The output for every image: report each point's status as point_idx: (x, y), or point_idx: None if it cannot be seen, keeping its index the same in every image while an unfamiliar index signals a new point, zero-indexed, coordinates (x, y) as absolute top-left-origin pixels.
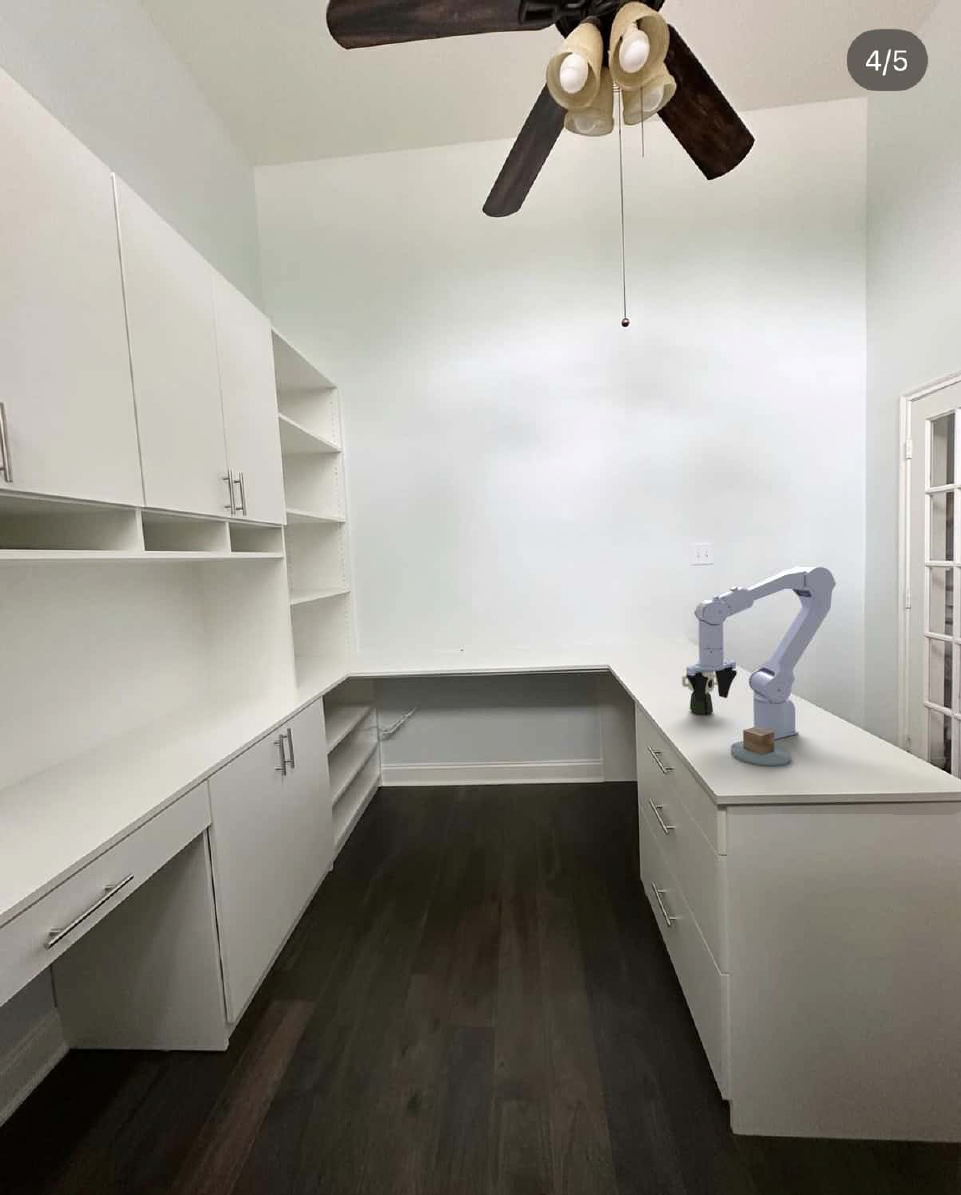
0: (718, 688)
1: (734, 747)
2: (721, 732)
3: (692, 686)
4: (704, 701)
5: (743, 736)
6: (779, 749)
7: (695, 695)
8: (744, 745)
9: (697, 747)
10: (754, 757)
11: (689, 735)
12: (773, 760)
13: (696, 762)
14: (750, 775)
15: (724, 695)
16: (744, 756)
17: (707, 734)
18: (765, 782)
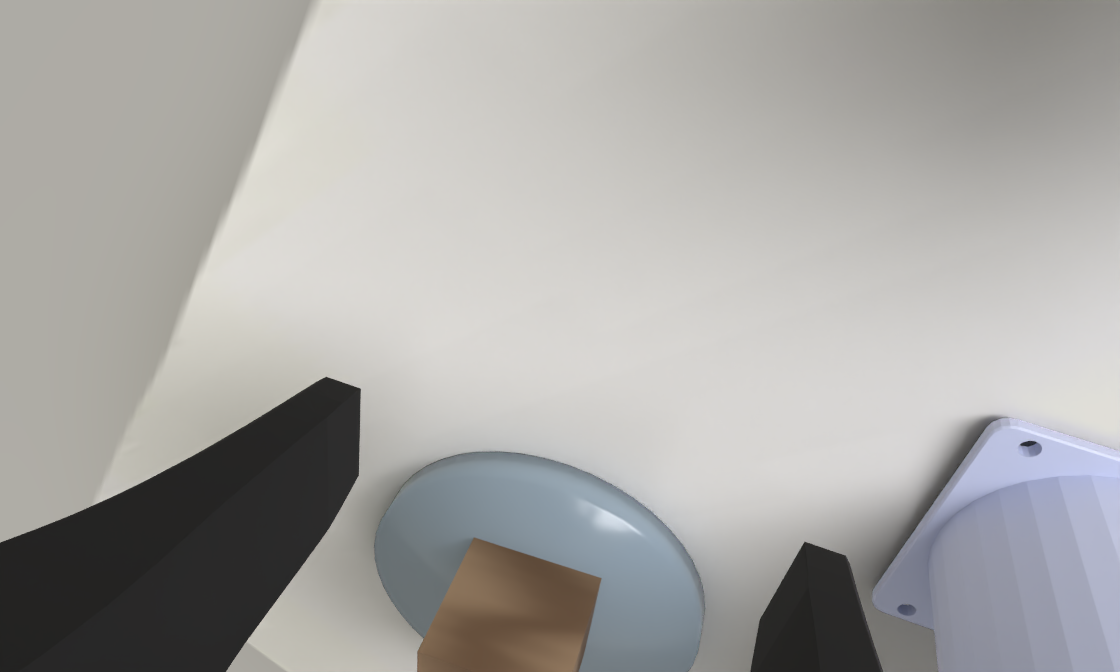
0: (809, 654)
1: (445, 498)
2: (796, 266)
3: (98, 512)
4: (350, 485)
5: (437, 611)
6: (631, 669)
7: (264, 420)
8: (464, 563)
9: (326, 274)
10: (411, 597)
11: (479, 84)
12: None
13: (161, 369)
14: (292, 580)
15: (759, 644)
16: (377, 562)
17: (640, 196)
18: (293, 627)
